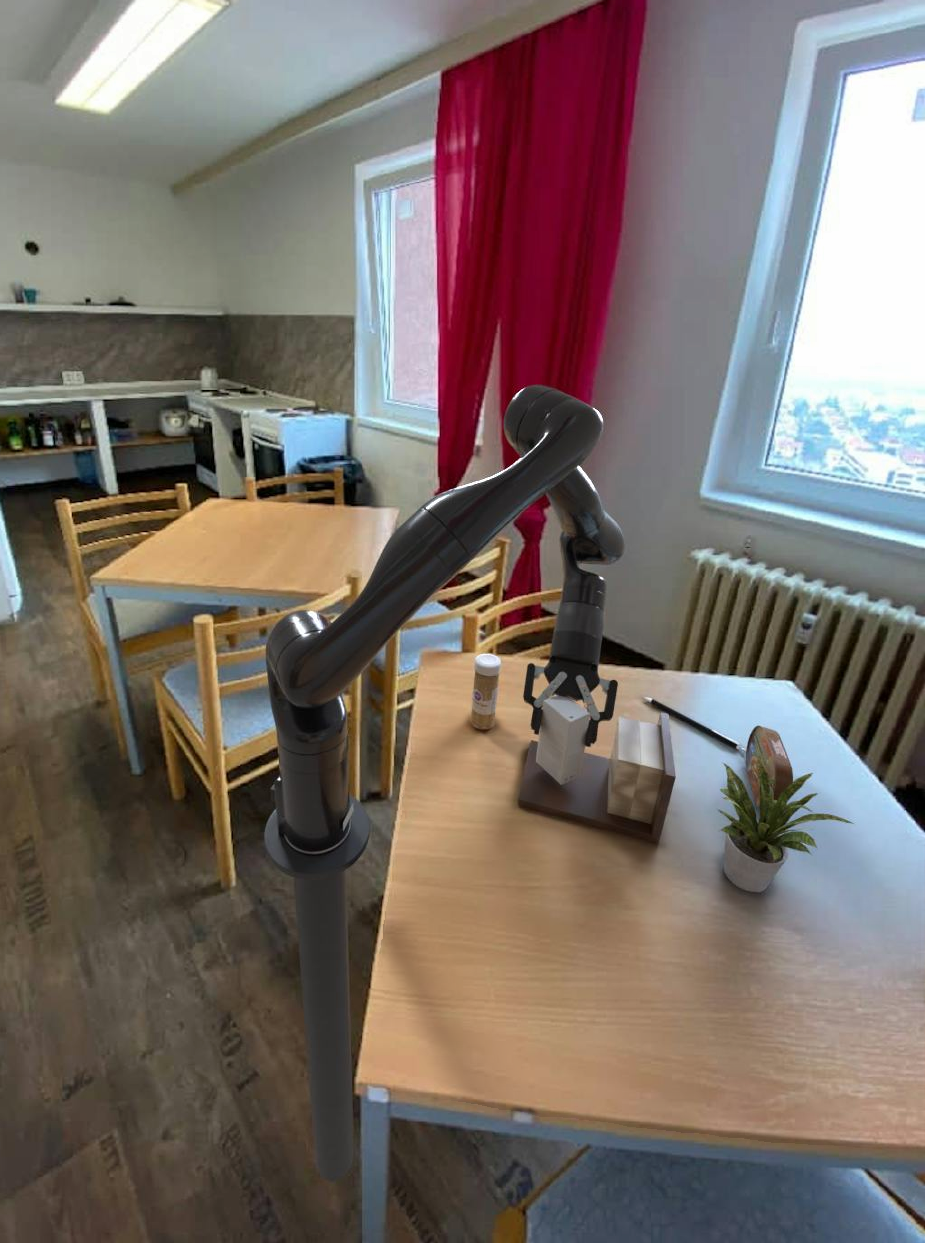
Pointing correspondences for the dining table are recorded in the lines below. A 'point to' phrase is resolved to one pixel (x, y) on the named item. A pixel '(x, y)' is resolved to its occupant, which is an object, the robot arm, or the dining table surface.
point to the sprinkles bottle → (485, 691)
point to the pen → (697, 724)
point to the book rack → (612, 783)
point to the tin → (768, 761)
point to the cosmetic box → (562, 738)
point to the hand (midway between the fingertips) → (561, 739)
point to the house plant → (763, 830)
